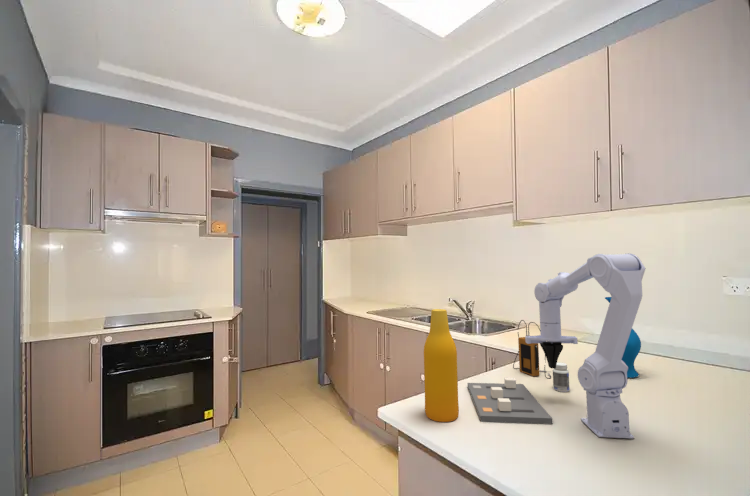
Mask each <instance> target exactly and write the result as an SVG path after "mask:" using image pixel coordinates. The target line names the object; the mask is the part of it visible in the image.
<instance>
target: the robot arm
mask: <svg viewBox="0 0 750 496" xmlns="http://www.w3.org/2000/svg"><path fill="white" fill-rule="evenodd" d="M645 272H646V267H645V265H644V263H643V262H642V260H641V259H640V258H639V256H637V255H636V254H633V253H630V252H629V253H617V254H615V253H614V254H613V253H612V254H609V253H607V254H606V253H605V254H604V253H597V254H595V255H593V256H591V257H588V258H587V260H586V262H585V263H583V264H582V265H580V266H578V267H577V268H575V269H574V270H573V271H571V272H565V271H560V272H558V273H557V276H555V277H553V278H550V279H548V280H547V282H538V283H537V284H536V285H535V287H534V290H533V292H534V297H535V299H536V300H537V301H538V305H539V309H538V311H539V328H540V330H539V332H540V334H539V335H530V336H526V335H525V336H524V337H525V342H526V343H527V344H531V343H538V344H539V345H540V347H541V349H542V351H543V353H544V356H545V355H546V358H545V359H546V361H547V365H548V368H550V369H554V368H556V364H557V362H558V360H559V357H560V354H561V352H562V351H563V350H564V345H563V344H573V345H578V337H577V336H572V335H562V322H561V321H562V320H561V307H562V303H563V299H564V298H565V296H567V295H569V294H572V293H573V292H575V291H577V289H578V287H579V284H581V283H583V282H587V281H588V280H590V279H594V280H595V281H596V282H597V283H598V284H599V285H600V286H601V288H603V290H604V291H605V292H607V293H609V295H610V297H611V301H610V303H609V305H608V308H607V311H606V315H605V318H604V322H603V325H602V328H601V331H600V335H599V337H598V342H597V345H596V347H595V351H594V352H593V353H592V354H590V355H589V356H587V357H586V358H585V359H584V361H583V363H582V365H581V366H580V367H579V368H578V369H577V379H578V383H579V384H580V386H581V387H582V388H583V391H585V393H586V395H585V396H586V397H585V398H586V417H587V418H586V417H581V418H580V420H581V422H582V423H584V424H585V425H586V427H588V429H589V430H591V431H592V433H594V434H595V435H596V436H597V437H598V438H611V439H613V438H615V439H634V438H635V435H633V434H632V433H631V431H630V430H631V429H630V417H629V415H630V414H629V410H628V408H627V406H626V405H625V404H624V403H623V402H622V399H621V394H623V390H624V389H625V388H627V386H628V378H627V370H628V366H627V365H626V364H625V363H624V362H623V361H622V360H621V359H622V356H623V353H624V350H625V347H626V344H627V341H628V338H629V335H630V332H631V329H633V326H634V323H635V321H636V317H637V315H638V312H639V308H640V305H641V303H642V299H643V283H642V282H643V277H644V275H645Z"/></svg>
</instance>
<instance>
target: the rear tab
mask: <svg viewBox="0 0 750 496" xmlns="http://www.w3.org/2000/svg"><path fill="white" fill-rule="evenodd" d="M503 382H504V384H505V387H506V388H516V384H517V380H516V378H514V377H504V381H503Z"/></svg>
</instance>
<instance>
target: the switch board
mask: <svg viewBox="0 0 750 496" xmlns="http://www.w3.org/2000/svg"><path fill="white" fill-rule="evenodd" d="M491 387H501V388H502V389H503V398H509V400H510V401H511V411H500V410H499V409H498V399H497V398H492V396H491ZM467 390H468V392H469V395H470V397H471V400H472V403H473V405H474V407H475V410H476V413H477V414H478V415H477V416H478V418H479V420H480V422H483V423H484V422H485V423H486V422H487V423H488V422H489V423H507V424H508V423H510V424H511V423H514V424H534V425H535V424H537V425H539V424H540V425H543V424H544V425H553V422H554V421H553V417H552V415H550V414H549V413H548V412H547V410H546V409H545V408H544V406H543V405H542V404H541V403H540V402H539V401H538V400H537V398H536V397H535V396H534V395H533V394H532V393H531V391H530V390H529V389H528V388H527V387H526V386H525V384H524V383H516V388H506V387H505V383H499V382H498V383H497V382H496V383H491V382H488V383H487V382H467Z"/></svg>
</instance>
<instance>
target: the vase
mask: <svg viewBox="0 0 750 496" xmlns="http://www.w3.org/2000/svg"><path fill="white" fill-rule="evenodd" d="M611 297H612V296H606V297H605V296H604V299H605V300H606V301H607V302H608V303H609V304H610V301H611ZM641 349H642V341H641V338H640V336H639V335H638V333H637V332H636V331H635V330H634V328H632V329H631V332H630V335H629V338H628V341H627V344H626V347H625V350H624V353H623V356H622V359H621V360H622V361H623V362H624V363H625V364H626V365H627V366H628V370H627V379H628V378H629V379H632V378H633V379H634V378H637V377H639V376H640V374H639V372H638V371H637V370H636V369H635V360H636V358H637V357H638V355H639V353H640V351H641Z"/></svg>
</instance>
